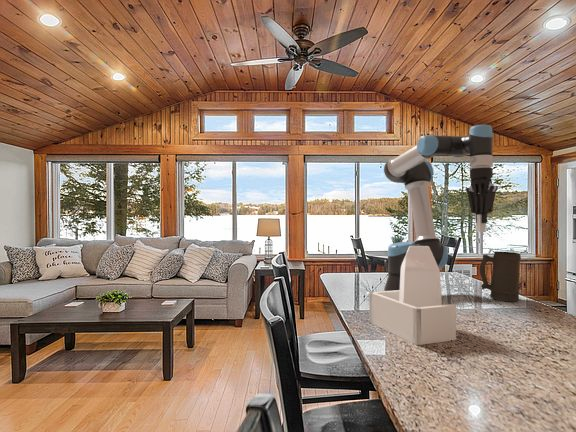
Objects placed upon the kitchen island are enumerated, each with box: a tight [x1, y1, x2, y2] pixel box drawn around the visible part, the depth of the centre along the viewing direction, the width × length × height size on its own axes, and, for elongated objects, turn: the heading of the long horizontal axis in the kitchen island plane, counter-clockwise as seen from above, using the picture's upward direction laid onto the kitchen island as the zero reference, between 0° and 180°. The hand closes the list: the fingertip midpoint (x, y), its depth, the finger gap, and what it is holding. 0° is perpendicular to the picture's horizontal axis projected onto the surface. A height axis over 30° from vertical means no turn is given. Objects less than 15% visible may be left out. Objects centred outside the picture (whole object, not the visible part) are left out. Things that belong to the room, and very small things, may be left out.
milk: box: [399, 246, 443, 307], centre depth 126 cm, size 12×12×26 cm
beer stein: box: [479, 251, 522, 303], centre depth 166 cm, size 15×11×20 cm
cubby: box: [368, 290, 457, 346], centre depth 123 cm, size 25×14×10 cm, turn 19°
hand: (481, 232), depth 145 cm, fingers closed
